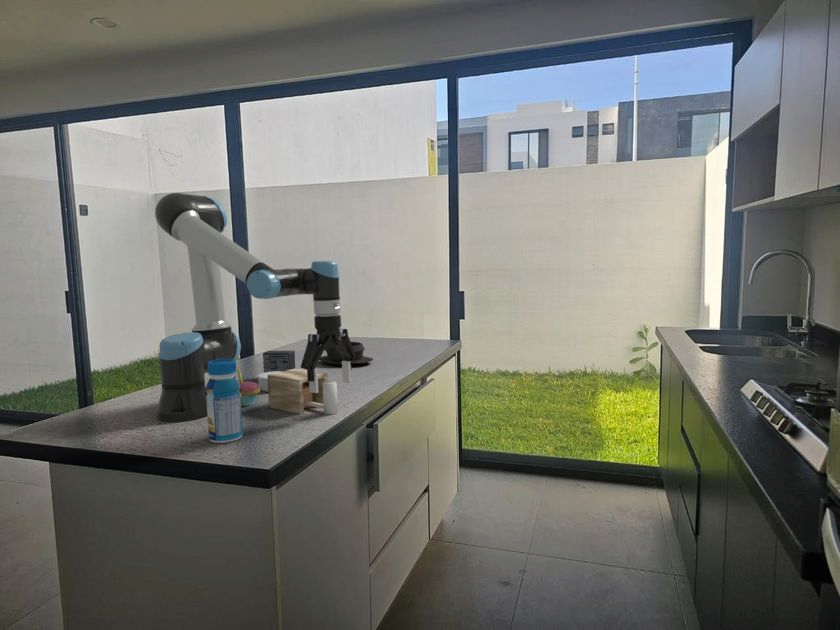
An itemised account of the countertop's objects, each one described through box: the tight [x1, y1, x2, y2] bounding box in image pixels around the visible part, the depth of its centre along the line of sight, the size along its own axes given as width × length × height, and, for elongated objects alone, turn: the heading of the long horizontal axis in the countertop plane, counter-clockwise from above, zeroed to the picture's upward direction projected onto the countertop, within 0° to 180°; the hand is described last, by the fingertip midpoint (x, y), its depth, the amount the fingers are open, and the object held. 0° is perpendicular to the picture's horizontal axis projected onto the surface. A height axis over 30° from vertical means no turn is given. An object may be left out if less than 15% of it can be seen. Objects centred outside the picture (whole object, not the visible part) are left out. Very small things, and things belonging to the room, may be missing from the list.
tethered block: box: [303, 380, 339, 415], centre depth 164 cm, size 6×18×9 cm, turn 55°
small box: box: [262, 350, 296, 373], centre depth 206 cm, size 11×6×10 cm, turn 84°
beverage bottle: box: [205, 359, 244, 444], centre depth 138 cm, size 8×8×20 cm
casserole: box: [319, 341, 374, 366], centre depth 234 cm, size 25×19×8 cm
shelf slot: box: [267, 367, 329, 415], centre depth 167 cm, size 11×14×10 cm
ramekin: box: [257, 371, 283, 393], centre depth 190 cm, size 11×11×5 cm
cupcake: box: [237, 367, 261, 407], centre depth 171 cm, size 9×8×12 cm
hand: (331, 387), depth 159 cm, fingers open, 13 cm apart
